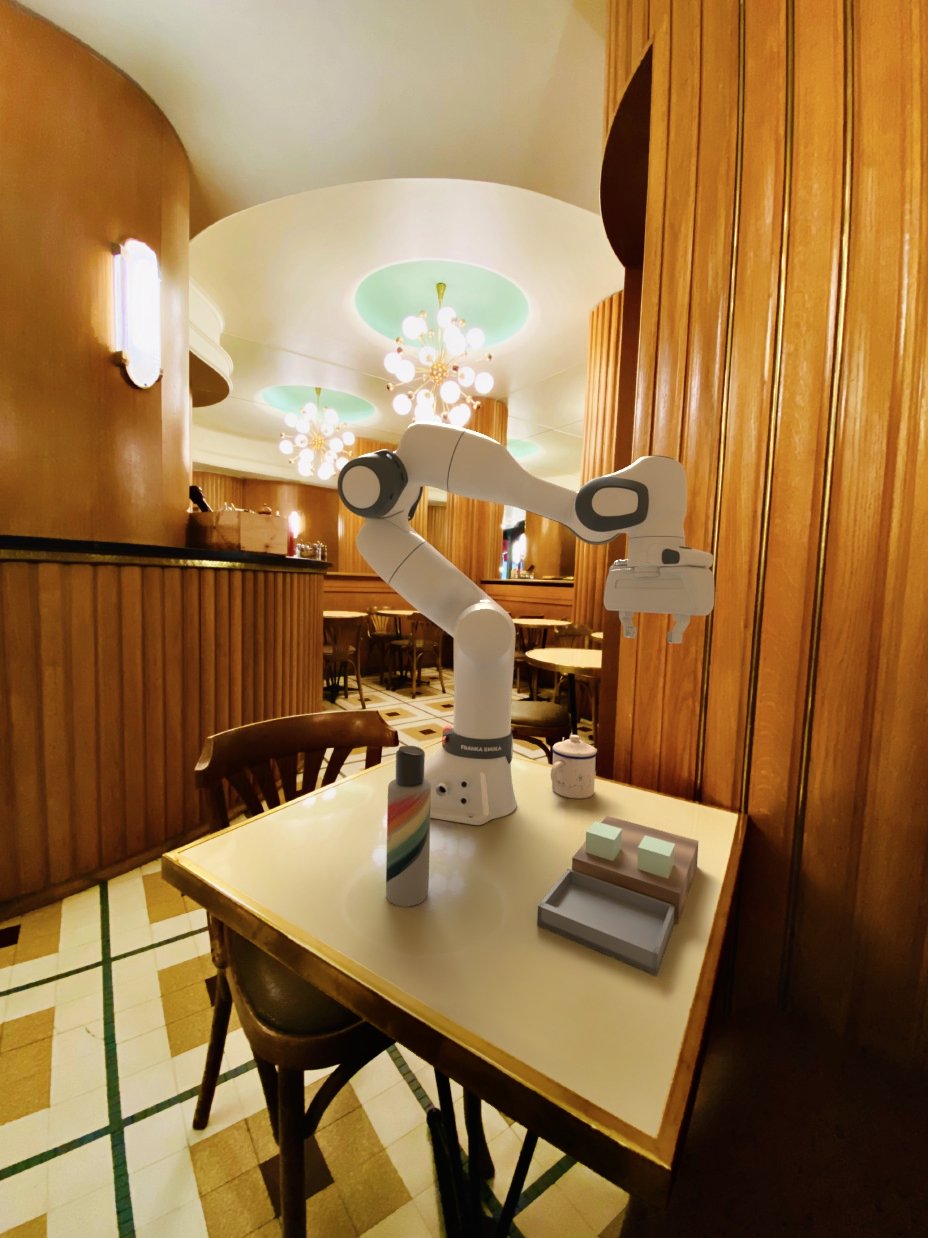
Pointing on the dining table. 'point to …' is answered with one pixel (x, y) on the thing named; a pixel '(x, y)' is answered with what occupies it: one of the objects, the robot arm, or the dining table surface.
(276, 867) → the dining table surface
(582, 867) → the walnut bench
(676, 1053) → the dining table surface
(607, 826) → the mint block
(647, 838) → the mint block
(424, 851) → the lotion bottle
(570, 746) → the teacup with lid
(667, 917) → the charcoal tray
